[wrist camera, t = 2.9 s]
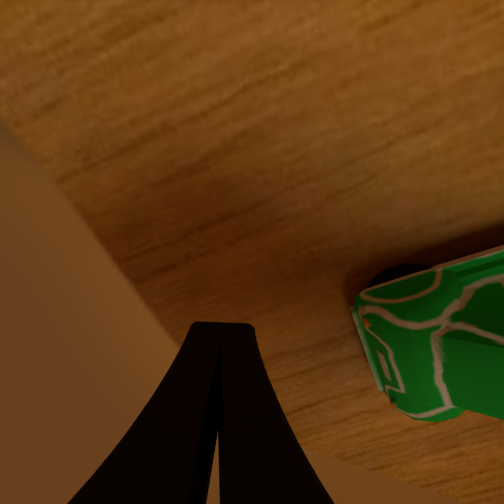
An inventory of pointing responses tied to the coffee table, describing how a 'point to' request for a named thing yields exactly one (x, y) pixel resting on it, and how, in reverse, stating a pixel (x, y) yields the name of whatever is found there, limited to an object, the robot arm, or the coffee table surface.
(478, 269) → the toy car
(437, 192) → the coffee table surface
